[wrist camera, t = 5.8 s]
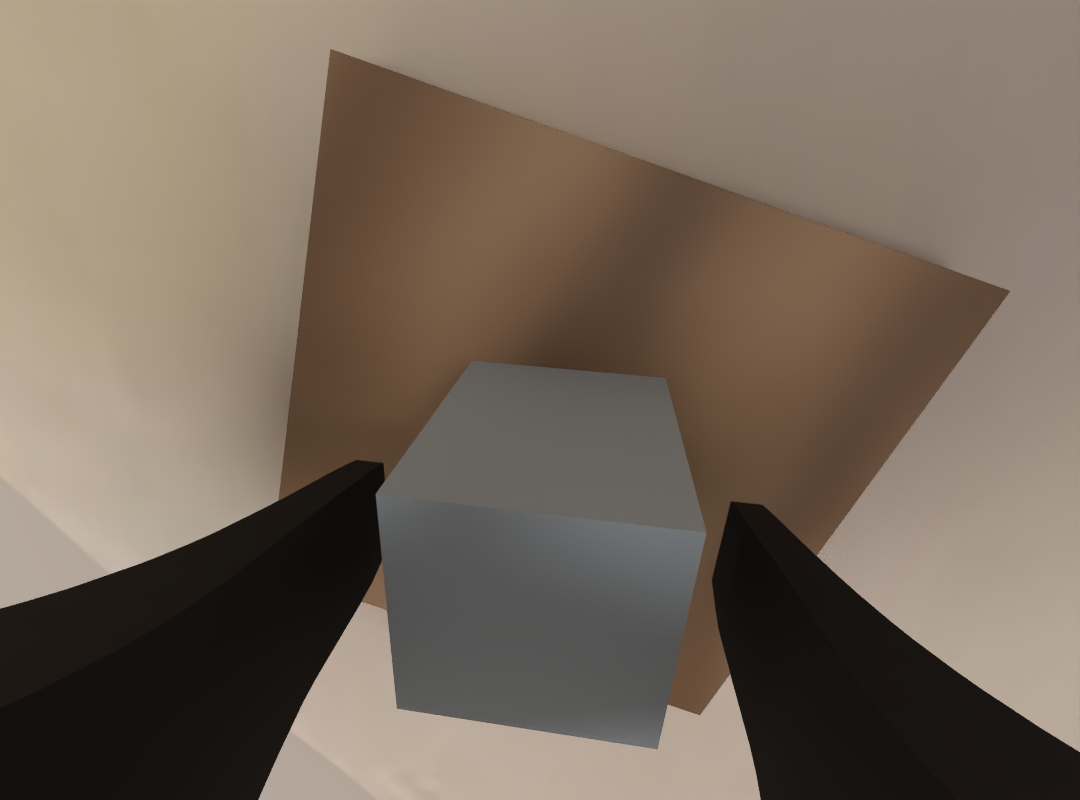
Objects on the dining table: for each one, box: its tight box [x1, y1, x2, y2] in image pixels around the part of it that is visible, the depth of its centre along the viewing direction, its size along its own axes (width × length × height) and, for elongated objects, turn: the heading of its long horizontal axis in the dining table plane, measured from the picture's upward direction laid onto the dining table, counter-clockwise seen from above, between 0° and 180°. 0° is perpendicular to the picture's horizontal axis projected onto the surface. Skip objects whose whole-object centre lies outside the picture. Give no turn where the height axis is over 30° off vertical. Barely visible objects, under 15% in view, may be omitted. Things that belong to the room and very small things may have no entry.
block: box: [376, 361, 707, 749], centre depth 10 cm, size 4×4×6 cm
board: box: [279, 49, 1010, 715], centre depth 14 cm, size 14×14×2 cm
